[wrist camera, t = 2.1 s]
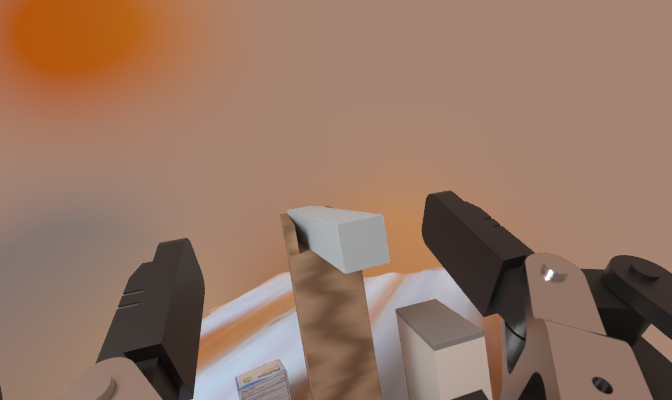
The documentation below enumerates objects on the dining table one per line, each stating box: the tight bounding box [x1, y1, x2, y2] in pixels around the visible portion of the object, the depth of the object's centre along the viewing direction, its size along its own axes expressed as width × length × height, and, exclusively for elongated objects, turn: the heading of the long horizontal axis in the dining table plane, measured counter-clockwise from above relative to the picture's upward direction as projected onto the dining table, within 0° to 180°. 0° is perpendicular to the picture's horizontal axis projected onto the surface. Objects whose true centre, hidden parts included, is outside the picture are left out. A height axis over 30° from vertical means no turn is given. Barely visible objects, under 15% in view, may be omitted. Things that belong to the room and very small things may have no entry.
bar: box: [287, 206, 390, 274], centre depth 32 cm, size 4×21×4 cm, turn 19°
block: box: [396, 299, 493, 400], centre depth 38 cm, size 6×10×20 cm, turn 12°
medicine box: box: [235, 359, 292, 400], centre depth 52 cm, size 8×4×9 cm, turn 117°
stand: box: [280, 206, 382, 400], centre depth 39 cm, size 7×14×35 cm, turn 12°
